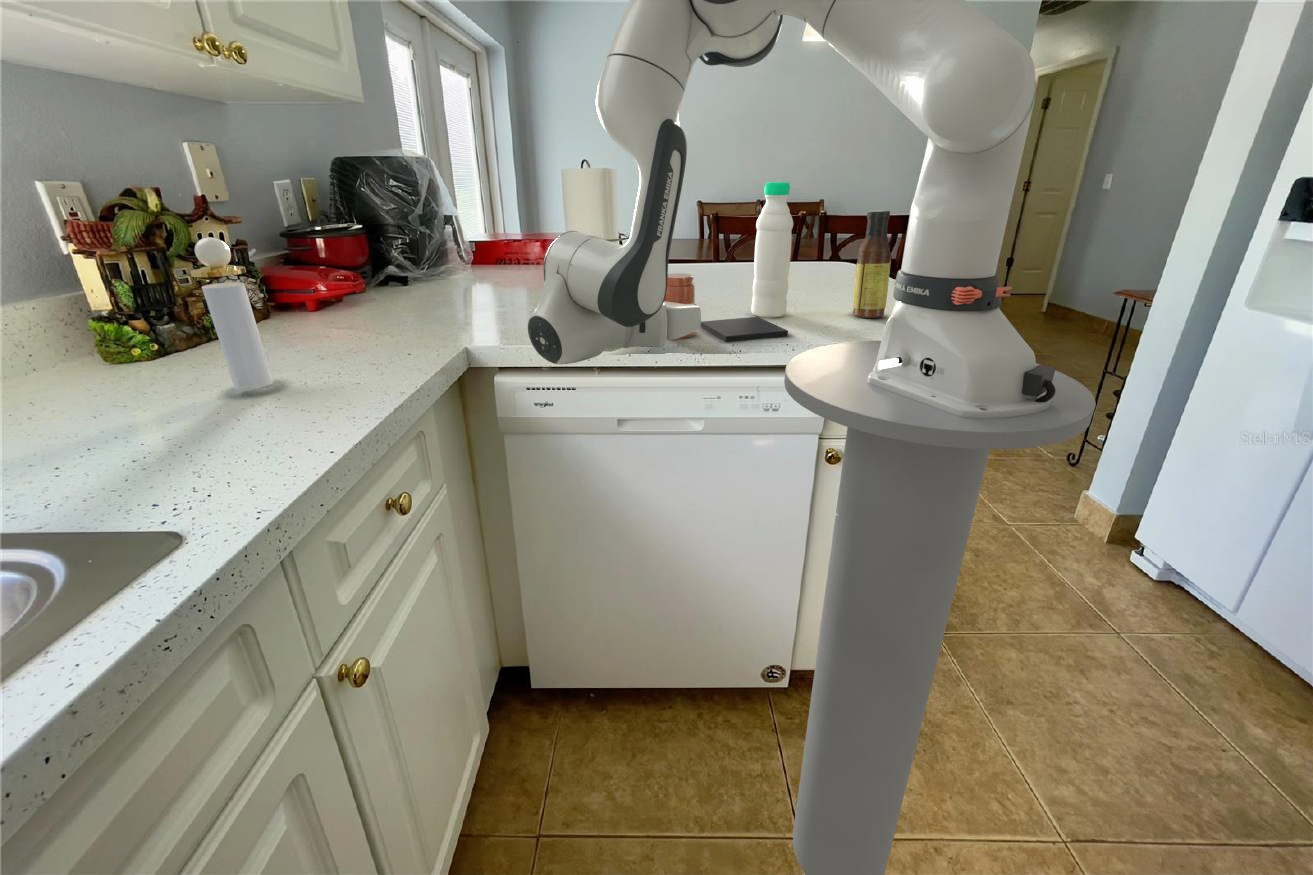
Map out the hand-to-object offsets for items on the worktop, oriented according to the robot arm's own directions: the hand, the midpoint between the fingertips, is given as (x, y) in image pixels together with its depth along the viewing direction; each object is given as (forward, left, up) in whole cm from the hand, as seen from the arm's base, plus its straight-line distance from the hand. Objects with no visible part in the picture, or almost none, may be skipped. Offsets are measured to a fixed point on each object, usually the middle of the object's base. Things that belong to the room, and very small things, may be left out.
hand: (671, 305), depth 102 cm
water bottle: (+10, -25, -6) cm, 27 cm away
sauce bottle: (+2, -43, -6) cm, 43 cm away
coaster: (-1, -14, -6) cm, 15 cm away
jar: (+1, -2, -6) cm, 6 cm away
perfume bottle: (-8, +63, -6) cm, 64 cm away
